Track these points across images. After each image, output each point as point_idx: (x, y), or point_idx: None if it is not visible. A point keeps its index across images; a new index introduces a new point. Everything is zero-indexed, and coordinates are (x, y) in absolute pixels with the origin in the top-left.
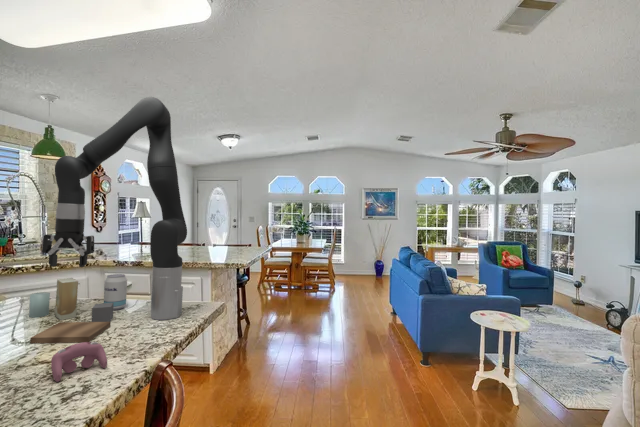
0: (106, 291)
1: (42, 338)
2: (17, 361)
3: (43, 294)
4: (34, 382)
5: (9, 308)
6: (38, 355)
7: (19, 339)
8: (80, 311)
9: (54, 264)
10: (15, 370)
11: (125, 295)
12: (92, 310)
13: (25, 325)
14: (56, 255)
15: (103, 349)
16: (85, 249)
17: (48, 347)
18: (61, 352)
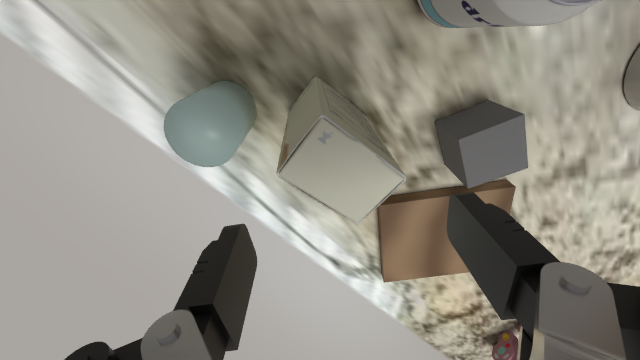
0: (477, 21)
1: (405, 278)
2: (412, 318)
3: (221, 138)
4: (472, 348)
5: (32, 42)
6: (429, 303)
7: (344, 260)
8: (336, 44)
9: (249, 253)
10: (429, 333)
11: None
12: (465, 184)
13: (280, 194)
14: (219, 306)
15: None
16: (616, 349)
17: (426, 281)
18: None
